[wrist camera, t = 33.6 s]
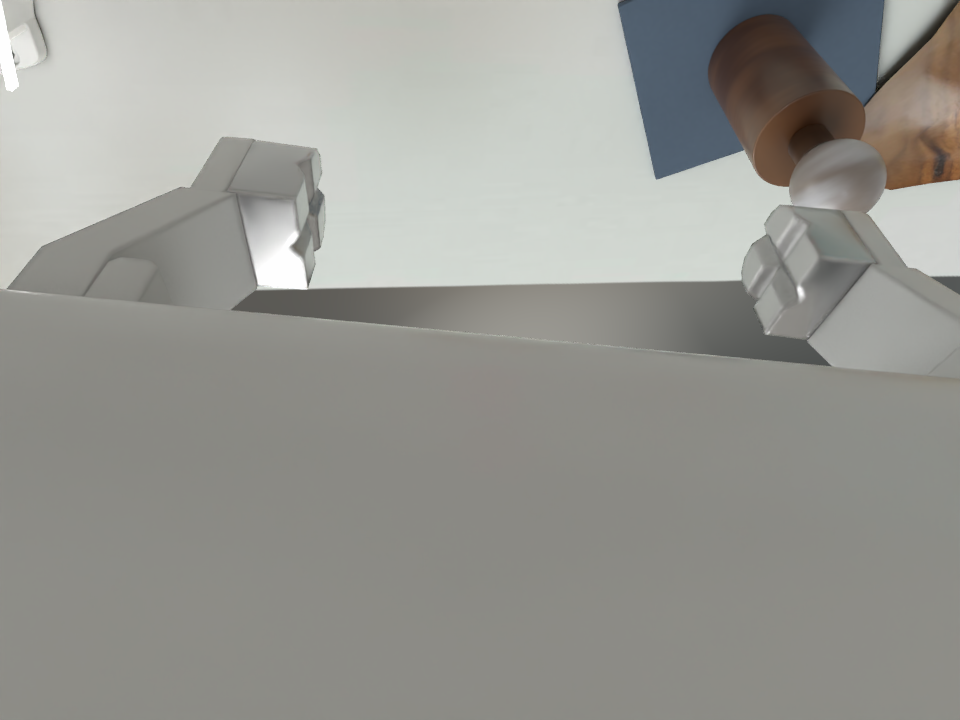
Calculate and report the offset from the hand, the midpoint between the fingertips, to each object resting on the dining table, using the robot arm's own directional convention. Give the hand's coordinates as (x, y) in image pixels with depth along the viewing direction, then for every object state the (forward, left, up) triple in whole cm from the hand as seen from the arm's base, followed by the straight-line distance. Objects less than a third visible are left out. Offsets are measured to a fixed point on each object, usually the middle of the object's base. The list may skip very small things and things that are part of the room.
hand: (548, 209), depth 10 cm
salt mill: (+10, -12, -31) cm, 35 cm away
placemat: (+12, -17, -34) cm, 40 cm away
